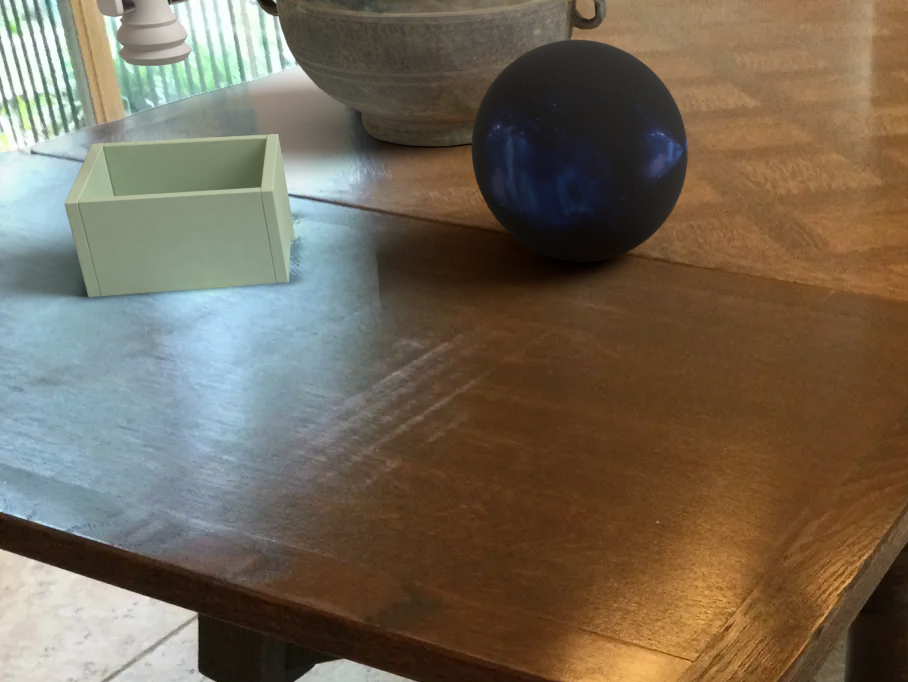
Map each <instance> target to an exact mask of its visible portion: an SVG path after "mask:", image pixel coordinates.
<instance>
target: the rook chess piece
mask: <svg viewBox="0 0 908 682" xmlns="http://www.w3.org/2000/svg"><path fill="white" fill-rule="evenodd" d="M133 1H134V2H135V4H136V11H135V12H134V13H130V14H126V15H122V16H121V17H120V19H119V21H120V23H121V25H120V27H119V28H118V29H117V31H116V38H115V39H116V41H117V42H118V43H119V44H120V45H121V46H123V47H122V48H121V49H120V50H119V51H118V52H117V53H118V54H119V57H120V58H121V59H123V61H125V62H126V63H127V64H129V65H131V66H139V67H158V66H160V67H161V66H169V65H172V64H173V65H174V64H178V63H181V62H183V61H185V60H187V59H188V58H189V56H190V54H191V52H192V47H191V45H189V44H187V43H186V42H185V41H186V39H187V38H188V36H189V34H188V31H187V30H186V28H185V26H184V25H182V24H181V23H180V22H179V21H178V15H176V14H175V13H174V12H173V11H172V8H171V5H169V3H168V1H167V0H133Z"/></svg>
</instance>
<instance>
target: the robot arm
mask: <svg viewBox="0 0 908 682" xmlns="http://www.w3.org/2000/svg"><path fill="white" fill-rule="evenodd" d="M95 1H96V6H97V8H98V11H99V13H100V14H102V16H107V17H111V18H117V17H122V15H126V14H130V13H134V12H135V11H136V4H135V2H134V1H133V0H95ZM167 1H168V3H169V6H171V5H177V4H182V3H186V2H188V1H189V0H167Z"/></svg>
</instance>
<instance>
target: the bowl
mask: <svg viewBox="0 0 908 682" xmlns="http://www.w3.org/2000/svg"><path fill="white" fill-rule="evenodd" d="M577 1H578V0H275V1H274V0H256V2H257V4H258V5H259V7H260V9H262V10H263V11H264V12H265V14H267V15H269V16H273V17H278V22H279V25H280V29H281V31H282V34H283V38H284V40H285V43H286V45H287V47H288V50H289V51H290V53H291V55H292V56H293V58H294V60H295V61H296V63H297V64H298V66H299V67H300V68H301V70H302V71H303V72H304V73H305V74H306V75H307V77H308V78H309V80H311V81H312V83H314V84H315V86H316V87H317V88H318V89H320V90H321V91H323V92H324V93H325V94H327V95H328V96H329V97H330V98H332V99H333V100H335V101H337V102H339V103H341V104H343V105H344V106H347V107H349V108H351V109H353V110H355V111H358V112H359V113H361V114H360V115H361V123H362V125H363V127H364V130H365V132H366V133H367V134H369V135H370V136H371V137H373V138H374V139H377V140H380V141H382V142H387V143H391V144H398V145H403V146H416V147H451V146H458V145H468V144H472V135H473V128H474V123H475V119H476V115H477V112H478V109H479V107H480V104H481V102H482V100H483V98H484V96H485V94H486V92H487V90H488V89H489V87H490V86H491V84H492V83H493V81H494V80H495V79H496V78H497V76H498V75H499V74H500V73H501V72H502V71H503V70H504V69H505V68H506V67H507V66H508V65H509V64H511V63H512V62H513V61H515V60H516V59H517V58H519V57H520V56H522V55H523V54H525V53H527V52H529V51H531V50H533V49H535V48H537V47H540V46H542V45H545V44H549V43H552V42H557V41H564V40H573V37H574V33H575V29H578V30H580V31H581V30H582V31H584V30H586V31H587V30H594V29H596V28H599V27H600V26H601V24H602V23H603V22H604V21H605V19H606V17H607V2H606V0H592V1H593V2H594V16H593V17H591V18H586V17H584V16H583V15H582V14H581V12H580V11H579V10H578V9H577Z"/></svg>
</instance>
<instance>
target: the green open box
mask: <svg viewBox="0 0 908 682" xmlns="http://www.w3.org/2000/svg"><path fill="white" fill-rule="evenodd" d="M281 148H282V147H281V141H280V136H279V134H278V133H270V134H253V135H251V134H250V135H232V136H231V135H230V136H212V137H195V138H178V139H177V138H174V139H173V138H172V139H156V140H154V139H153V140H141V141H140V140H138V141H137V140H135V141H117V142H105V143H104V142H98V143H92V144H91V145H90V148H89V150H88V152H87V155H86V156H85V159H84V161H83V162H82V165H81V167H80V169H79V171H78V174H77V175H76V178H75V180H74V182H73V185H72V187H71V189H70V190H69V193H68V195H67V197H66V200H65V201H64V207H65V211H66V216H67V219H68V224H69V226H70V231H71V235H72V239H73V242H74V247H75V251H76V255H77V258H78V262H79V266H80V270H81V273H82V278H83V282H84V285H85V289H86V294H87V297H88V298H97V297H108V296H110V297H111V296H123V295H136V294H149V293H161V292H175V291H188V290H200V289H202V290H203V289H215V288H228V287H242V286H254V285H255V286H256V285H269V284H282V283H289V280H290V264H291V245H292V242H295V237H296V235H295V228H294V221H293V217H292V216H293V215H292V209H291V203H290V196H289V190H288V185H287V178H286V172H285V165H284V161H283V159H284V158H283V153H282V149H281Z"/></svg>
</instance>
